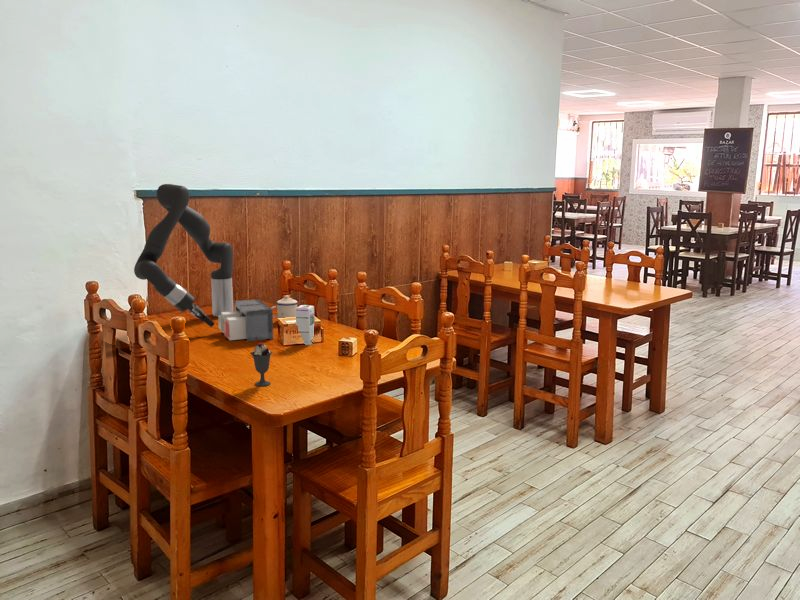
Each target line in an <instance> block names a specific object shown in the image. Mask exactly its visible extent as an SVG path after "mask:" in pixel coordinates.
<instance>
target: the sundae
mask: <svg viewBox="0 0 800 600" xmlns="http://www.w3.org/2000/svg"><path fill="white" fill-rule="evenodd" d="M255 338H257V337H255ZM257 339H258V338H257ZM269 349H270V348H268V347H267V345H265V344H263V343H262V342H260V341H259V339H258V341H257V343H256V346H255V347H254V349H253V351H251V352H250V353H249V354H250V355H251V357H252V358H253V364H254V368H255V371H256V372H257V373H258V374H260V379H259V381H256V382H255V383H254V385H255V386H256V387H268V386H270V385H271V384H272V383H271V382H270V381H269V380H266V379H265V374H266V372H268V371H269V369H270V363H271V362H270V360H271V356H272V354H273V351H272V350H271V351H270V350H269Z"/></svg>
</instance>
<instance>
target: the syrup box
mask: <svg viewBox="0 0 800 600" xmlns="http://www.w3.org/2000/svg"><path fill="white" fill-rule="evenodd" d="M295 314H296V322H295V326H296V325H297V326H298V331H299V332H300V334H301V336H302V339H303V341H304V344H305V345H304V346H311V345H312V344H313V343H312V340H313V336H314V326H315V325H316V324H315V305H309V304H301V305H299V306H297V308H295Z"/></svg>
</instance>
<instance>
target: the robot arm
mask: <svg viewBox="0 0 800 600" xmlns="http://www.w3.org/2000/svg"><path fill="white" fill-rule="evenodd" d="M190 195H191V194H190V191H189V189H188V188H187V187H186V186H183V185H178V184H172V183H164V184H161V185H160V186H158V188H157V189H156V198H157V201H158V203H159V204H160V206H162V207H163V208H164V209H165V210H166V211H167V214H166V215H165V216H164V217H163V218H162V219H161V220H160V221H159V222H158V223H157V224H156V225H155V226H154V227H153V228H152V229H151V231H150V232H149V235H148V237H147V239H146V241H145V245H144V248H143V250H142V252H141V253H140V255H139V256H138V259H137V260H136V263H135V265H134V268H133V273H134V275H135V277H136V278H138V279H139V280H146V281H147V282H149V283H150V284H152V286H153V288H154V289H155V291H156V292H158V294H160V295H161V296H162V297H164V298H165V299H166V301H167V302H169V304H171V305H172V306H174V307H175V308H176V309H177V310H178V311H180V312H182V313H184V312H186V311H187V310H188V312H189V313H190V315H191V316H194V317H195V318H196V319H198V320H200V321H201V322H203V323H205V324H206V325H208V326H209V327H210V328H212V327H213V326H215V322H214V321H213V320H212V319H211V318H209V317H208V316H209V315H207V314H206V313H205V312H204V310H202V309H201V308H200V306H199V305H197V304H194V302H195V299H196V298H195V296H193V294H191V293H190V292H189V291H187V290H186V289H185V288H184V287H182V286H181V285H180V284H178V283H177V282H176V281H175V280H174V279H172V278H171V277H169V276H168V275H167V274H166V272H165V271H164V270H163V269H162V268H161V267H160V266H159V265H158V264H157V263H158V260H159V259H160V258H161V257H162V255H163V253H164V251H165V248H166V247H167V246H166V245H167V244H168V240H169V238H170V235H171V234H172V233H173V231H174V228H175V227H176V225H177V224H178V223H179V225H180V226H182V228H183V229H184V231H185V232H186V233H187V234H188V235H189V236H190V237H191V239H193V240H194V242H195V244H196V245H197V246H198V247H199V249H200V250H201V252H202V253H203V255H204V256H205V258H206V259H207V260H208V261H209V262H211V263H215V264H220V267H219V268H218V269H216V270H212V271H211V273H210V281H211V282H210V283H211V284H210V285H211V303H212V307H211V308H212V310H211V311H212V316H213V317H217V318H218V316H221V312H231V311H234V296H233V295H234V294H233V293H234V292H233V291H234V290H233V288H234V287H233V271H234V266H233V265H234V249H233V247H232V245H231V244H230V243H229V242H219V241H218V242H217V241H213V240H212V239H211V238H210V234H211V227H210V224H209V222H208V221H207V220H206V219H205V217H204V216H203V215H202V214H201V213H199V211H197V210H195V209H194V208H192V207H190V206H188V205H189V202H190V199H191V198H190V197H191V196H190Z"/></svg>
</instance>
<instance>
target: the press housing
mask: <svg viewBox="0 0 800 600" xmlns="http://www.w3.org/2000/svg"><path fill="white" fill-rule="evenodd" d="M234 311H240V317H242V316H246V332H247V339H246V342H248V341H250V342H258V341H257V340H258V339H259V340H260V341H266V340H265V339H270V340H274V317H273V315H274V314H273V309H271V307H270V306H268V304H266V303H265V302H263V301H262V300H261V299H259V298H254V299H253V298H252V299H241V300H240V299H239V300H234ZM255 337H257V338H258V339H257V338H255Z"/></svg>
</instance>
